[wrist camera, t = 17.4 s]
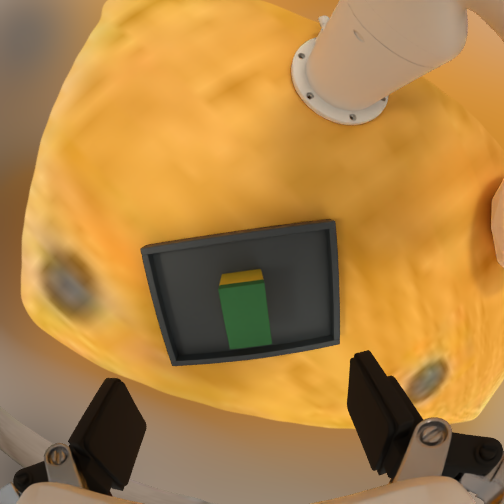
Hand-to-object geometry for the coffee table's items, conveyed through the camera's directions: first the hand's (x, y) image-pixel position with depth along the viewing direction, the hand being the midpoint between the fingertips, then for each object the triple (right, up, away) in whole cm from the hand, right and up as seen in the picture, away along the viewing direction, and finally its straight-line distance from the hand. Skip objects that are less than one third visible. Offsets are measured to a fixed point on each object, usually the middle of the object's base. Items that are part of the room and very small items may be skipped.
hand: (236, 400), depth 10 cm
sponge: (0, 0, +22) cm, 22 cm away
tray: (0, +1, +23) cm, 23 cm away
